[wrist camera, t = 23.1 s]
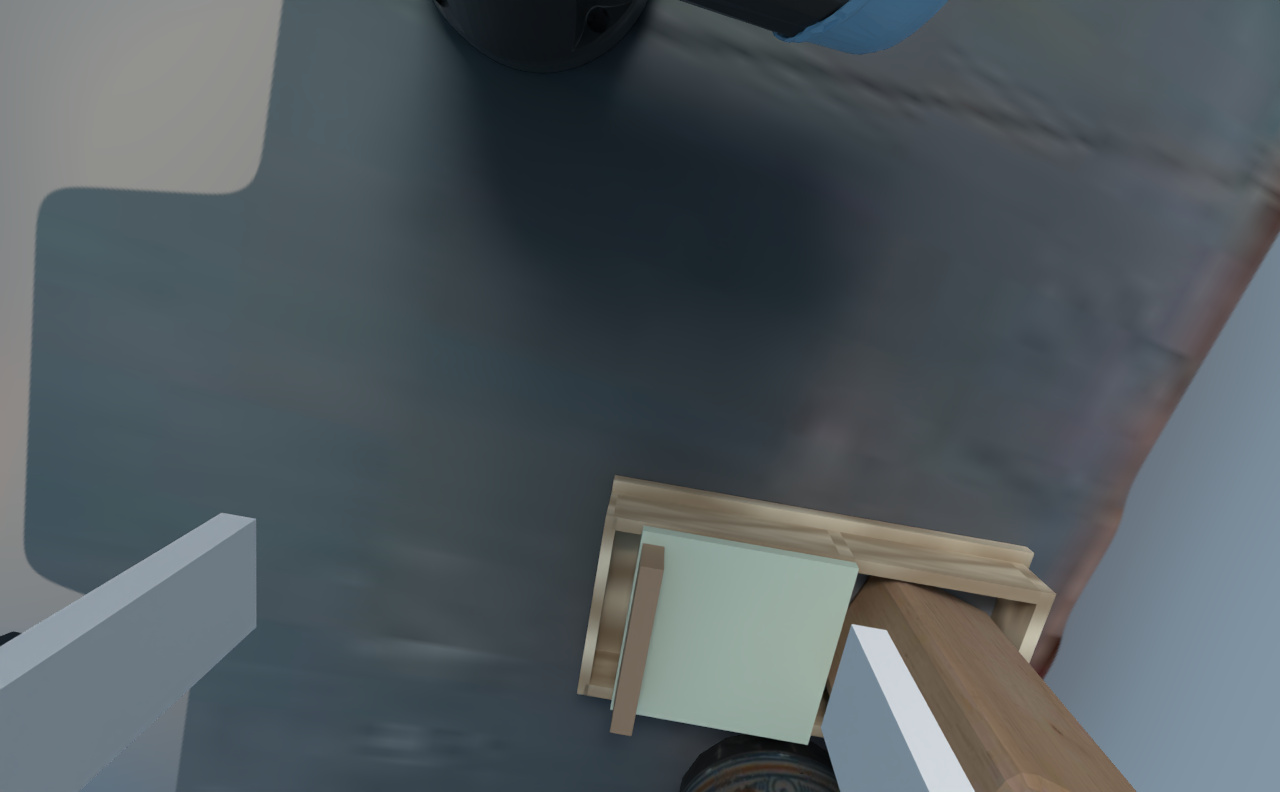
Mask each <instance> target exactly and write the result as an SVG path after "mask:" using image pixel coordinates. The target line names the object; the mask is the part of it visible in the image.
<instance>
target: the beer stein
mask: <svg viewBox="0 0 1280 792" xmlns="http://www.w3.org/2000/svg"><path fill="white" fill-rule="evenodd" d="M680 792H840V789H839V786H838V783H837V779H836V776H835V773H834V769H833V766H832V763H831V760H830V756H829V753H828V752H826V751H825V750H823V749H822V748H820V747H819V746H817V745H816V744H814V743H813V742H811V741H810V740H809V742H808V745H805V744H799V743H794V742H788V741H783V740H777V739H771V738H766V737H760V736H755V735H749V734H744V735H739V736H734V737H729V738H725V739H724V740H722V741H720V742H719V743H717V744H716V745H714V746H712V747H711V748H709V749H708V750H706V751H705V752H703V753H701V754H700V755H699V756H698V758H697V759H696V760H695V762H694V763H693V765H692V766H691V767H690V769H689V770H688V771H687V773H686V774H685V775H684V777H683V779H682V784H681V789H680Z"/></svg>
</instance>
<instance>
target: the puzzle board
mask: <svg viewBox="0 0 1280 792" xmlns="http://www.w3.org/2000/svg"><path fill="white" fill-rule="evenodd" d="M643 525H645V526H650V527H656V528H662V529H667V530H673V531H679V532H684V533H690V534H696V535H702V536H707V537H713V538H719V539H724V540H730V541H736V542H741V543H747V544H753V545H759V546H764V547H770V548H776V549H781V550H787V551H793V552H798V553H804V554H810V555H816V556H821V557H827V558H833V559H838V560H844V561H850V562H855V563H856V564H857V566H858V568H859V571H858V574H857V578H856V581H855V585H854V588H853V591H852V595H851V598H850V602H849V604H850V603H851V602H852V600H853V599H854V597H855V596H856V595H857V593H858V592H859V590H860V589H861V588H862V586H863V585H864V583H865V582H866V581H867V579H868V578H869V576H870V575H873V576H878V577H884V578H890V579H896V580H901V581H907V582H913V583H918V584H924V585H930V586H935V587H937V588H939V589H941V590H943V591H945V592H947V593H949V594H951V595H953V596H955V597H957V598H959V599H961V600H963V601H964V602H966V603H968V604H970V605H972V606H974V607H976V608H978V609H980V610H982V611H984V612H986V613H987V614H988V615H989V617H990V618H991V619H992V620H993V621H994V623H995V624H996V625H997V626H998V627H999V629H1000V630H1001V631H1002V632H1003V633H1004V635H1005V636H1006V637H1007V638H1008V639H1009V640H1010V642H1011V643H1012V644H1013V645H1014V646H1015V648H1016V649H1017V650H1018V651H1019V652H1020V654H1021V655H1022V656H1023V657H1024V658H1025V660H1026V661H1027V662H1028V663H1029V662H1030V660H1031V657H1032V655H1033V652H1034V649H1035V647H1036V644H1037V642H1038V639H1039V637H1040V634H1041V632H1042V629H1043V627H1044V624H1045V621H1046V619H1047V616H1048V614H1049V611H1050V609H1051V606H1052V604H1053V601H1054V598H1055V596H1056V594H1055V593H1054V592H1053V591H1052V590H1051V589H1050V588H1049V587H1048V586H1047V585H1046V584H1044V583H1043V582H1042V581H1041V580H1040V579H1039V578H1038V577H1037V576H1036V575H1035V574H1034V573H1033V572H1031V571H1030V570H1029V566H1030V564H1031V561H1032V558H1033V556H1034V553H1033V552H1032V551H1031V550H1030V549H1029V548H1027V547H1025V546H1019V545H1013V544H1008V543H1002V542H996V541H990V540H985V539H979V538H973V537H968V536H962V535H956V534H950V533H945V532H939V531H933V530H927V529H922V528H916V527H910V526H905V525H899V524H893V523H887V522H882V521H876V520H870V519H864V518H859V517H853V516H847V515H842V514H836V513H830V512H824V511H819V510H813V509H807V508H801V507H796V506H790V505H784V504H779V503H773V502H767V501H761V500H756V499H750V498H744V497H738V496H733V495H727V494H721V493H716V492H710V491H704V490H698V489H693V488H687V487H681V486H676V485H670V484H664V483H658V482H653V481H647V480H641V479H635V478H630V477H624V476H618V475H615V477H614V482H613V488H612V493H611V497H610V502H609V506H608V510H607V514H606V519H605V525H604V531H603V537H602V544H601V550H600V556H599V562H598V568H597V574H596V580H595V586H594V592H593V598H592V605H591V611H590V617H589V623H588V629H587V635H586V641H585V647H584V653H583V660H582V666H581V672H580V678H579V684H578V690H577V694H582V695H588V696H593V697H599V698H604V699H610V700H612V695H613V690H614V684H615V679H616V673H617V668H618V662H619V657H620V651H621V646H622V640H623V635H624V629H625V624H626V618H627V613H628V607H629V602H630V596H631V591H632V585H633V580H634V574H635V569H636V564H637V558H638V553H639V547H640V542H641V536H642V531H643ZM848 606H849V605H848ZM829 698H830V696H829V693H828V690H827V687H826V684H825V688H824V691H823V694H822V698H821V701H820V705H819V708H818V712H817V715H816V718H815V722H814V725H813V729H812V732H811V736H817V737H823V738H824V736H823V733H822V730H821V725H822V722H823V719H824V715H825V712H826V708H827V705H828V702H829Z"/></svg>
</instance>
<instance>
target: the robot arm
mask: <svg viewBox="0 0 1280 792" xmlns="http://www.w3.org/2000/svg"><path fill="white" fill-rule="evenodd" d="M647 1H648V0H433V2H434V3H435V5H436V6H437V8H438V9H439V11H440V12H441V14H442V15H443V16H444V17H445V19H446V20H447V21H448V22H449V23H450V24H451V25H452V26H453V27H454V29H455V30H456V31H457V32H459V33H460V34H461V35H462V36H463V37H464V38H465V39H466V40H467V41H468V42H469V43H470V44H471V45H472V46H474V47H475V48H476V49H477V50H479V51H480V52H481V53H483V54H484V55H486V56H488V57H489V58H491V59H493V60H495V61H497V62H499V63H501V64H503V65H506V66H508V67H511V68H515V69H518V70H523V71H528V72H538V73H549V72H559V71H565V70H569V69H573V68H576V67H579V66H581V65H584V64H586V63H588V62H590V61H593V60H594V59H596V58H598V57H599V56H601V55H603V54H604V53H605V52H607V51H608V50H610V49H611V48H612V47H613V46H614V45H616V44H617V43H618V42H619V41H620V40H621V39H622V38H623V37H624V36H625V34H626V33H627V32H628V31H629V30H630V28H631V27H632V26H633V25H634V23H635V22H636V20H637V19H638V17H639V16H640V14H641V12H642V10H643V9H644V7H645V5H646V3H647ZM680 1H683V2H686V3H689V4H692V5H695V6H698V7H701V8H704V9H707V10H710V11H713V12H716V13H719V14H722V15H725V16H728V17H731V18H734V19H737V20H740V21H743V22H746V23H749V24H752V25H755V26H758V27H761V28H764V29H767V30H771V31H772V32H773V34H774V36H775V37H777V38H778V39H780V40H782V41H784V42H788V43H790V42H796V43H801V42H805V41H806V42H809V43H813V44H817V45H820V46H824V47H828V48H831V49H835V50H839V51H842V52H846V53H850V54H859V55H860V54H866V53H872V52H877V51H879V50H885V49H888V48H890V47H892V46H894V45H896V44H898V43H899V42H901V41H903V40H904V39H906V38H907V37H909V36H910V35H912V34H913V33H914V32H915V31H917V30H918V29H919V28H920V27H922V26H923V25H924V24H925V23H926V22H927V21H928V20H929V19H931V18H932V17H933V16H934V15H935V14H936V13H937V12H938V11H939V10H940V9H941V8H942V7H943V6H944V5H945V4H946V3H947V1H948V0H680ZM255 628H256V519H253V518H248V517H242V516H236V515H231V514H225V513H221V514H219V515H217V516H216V517H214V518H212V519H211V520H209V521H207V522H206V523H204V524H202V525H201V526H199V527H197V528H196V529H194V530H192V531H191V532H189V533H187V534H186V535H184V536H182V537H181V538H179V539H178V540H176V541H174V542H173V543H171V544H169V545H168V546H166V547H164V548H163V549H161V550H159V551H158V552H156V553H154V554H153V555H151V556H149V557H148V558H146V559H144V560H143V561H141V562H139V563H138V564H136V565H134V566H133V567H131V568H129V569H128V570H126V571H124V572H123V573H121V574H119V575H118V576H116V577H115V578H113V579H111V580H110V581H108V582H106V583H105V584H103V585H101V586H100V587H98V588H96V589H95V590H93V591H91V592H90V593H88V594H86V595H85V596H83V597H81V598H80V599H78V600H77V601H75V602H73V603H72V604H70V605H68V606H67V607H65V608H63V609H62V610H60V611H58V612H57V613H55V614H53V615H52V616H50V617H48V618H47V619H45V620H43V621H42V622H40V623H38V624H37V625H35V626H33V627H32V628H30V629H28V630H27V631H25V632H23V633H18V632H10V633H8V634H5V635H3V636H0V792H79V791H80V790H81V789H82V788H83V787H84V786H85V785H86V784H87V783H88V782H89V781H91V780H92V779H93V778H94V777H95V776H96V775H97V774H98V773H99V772H100V771H101V770H102V769H103V768H105V767H106V766H107V765H108V764H109V763H110V762H111V761H112V760H113V759H114V758H115V757H116V756H118V755H119V754H120V753H121V752H122V751H123V750H124V749H125V748H126V747H127V746H128V745H129V744H131V743H132V742H133V741H134V740H135V739H136V738H137V737H138V736H139V735H140V734H141V733H142V732H143V731H144V730H145V729H147V728H148V727H149V726H150V725H151V724H152V723H153V722H154V721H155V720H156V719H157V718H159V717H160V716H161V715H162V714H163V713H164V712H165V711H166V710H167V709H168V708H169V707H170V706H172V705H173V703H175V702H176V701H177V700H178V699H179V698H180V697H181V696H182V695H183V694H184V693H186V692H187V691H188V690H189V689H190V688H191V687H192V686H193V685H194V684H195V683H196V682H197V681H198V680H200V679H201V678H202V677H203V676H204V675H205V674H206V673H207V672H208V671H209V670H210V669H211V668H213V667H214V666H215V665H216V664H217V663H218V662H219V661H220V660H221V659H222V658H223V657H224V656H225V655H227V654H228V653H229V652H230V651H231V650H232V649H233V648H234V647H235V646H236V645H237V644H238V643H239V642H241V641H242V640H243V639H244V638H245V637H246V636H247V635H248V634H249V633H250V632H251V631H252V630H254V629H255ZM821 730H822V733H823V736H824V740H825V743H826V746H827V750H828V753H829V756H830V760H831V763H832V766H833V769H834V773H835V776H836V779H837V783H838V786H839V789H840V792H975V791H974V789H973V787H972V785H971V784H970V782H969V780H968V778H967V776H966V774H965V773H964V771H963V769H962V767H961V765H960V763H959V762H958V760H957V758H956V756H955V754H954V752H953V751H952V749H951V747H950V745H949V743H948V742H947V740H946V738H945V736H944V734H943V732H942V731H941V729H940V727H939V725H938V723H937V721H936V720H935V718H934V716H933V714H932V712H931V710H930V709H929V707H928V705H927V703H926V701H925V699H924V698H923V696H922V694H921V692H920V690H919V689H918V687H917V685H916V683H915V681H914V679H913V678H912V676H911V674H910V672H909V670H908V668H907V667H906V665H905V663H904V661H903V659H902V657H901V656H900V654H899V652H898V650H897V648H896V646H895V645H894V643H893V641H892V639H891V637H890V636H889V634H888V632H887V630H883V629H877V628H871V627H866V626H860V625H854V624H851V627H850V631H849V634H848V637H847V641H846V644H845V648H844V651H843V654H842V658H841V661H840V664H839V668H838V671H837V675H836V678H835V681H834V685H833V688H832V692H831V695H830V698H829V702H828V705H827V708H826V712H825V715H824V719H823V722H822V725H821Z"/></svg>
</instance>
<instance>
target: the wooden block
mask: <svg viewBox="0 0 1280 792" xmlns="http://www.w3.org/2000/svg"><path fill="white" fill-rule="evenodd" d="M851 624H854V625H860V626H866V627H871V628H877V629H883V630H887V632H888V634H889V636H890V637H891V639H892V641H893V643H894V645H895V646H896V648H897V650H898V652H899V654H900V656H901V657H902V659H903V661H904V663H905V665H906V667H907V668H908V670H909V672H910V674H911V676H912V678H913V679H914V681H915V683H916V685H917V687H918V689H919V690H920V692H921V694H922V696H923V698H924V699H925V701H926V703H927V705H928V707H929V709H930V710H931V712H932V714H933V716H934V718H935V720H936V721H937V723H938V725H939V727H940V729H941V731H942V732H943V734H944V736H945V738H946V740H947V742H948V743H949V745H950V747H951V749H952V751H953V752H954V754H955V756H956V758H957V760H958V762H959V763H960V765H961V767H962V769H963V771H964V773H965V774H966V776H967V778H968V780H969V782H970V784H971V785H972V787H973V789H974V791H975V792H1136V790H1135V789H1134V788H1133V787H1132V786H1131V784H1130V783H1129V782H1128V781H1127V780H1126V779H1125V777H1124V776H1123V775H1122V774H1121V773H1120V771H1119V770H1118V769H1117V768H1116V767H1115V765H1114V764H1113V763H1112V762H1111V761H1110V760H1109V758H1108V757H1107V756H1106V755H1105V754H1104V752H1103V751H1102V750H1101V749H1100V748H1099V746H1098V745H1097V744H1096V743H1095V742H1094V740H1093V739H1092V738H1091V737H1090V736H1089V735H1088V733H1087V732H1086V731H1085V730H1084V729H1083V727H1082V726H1081V725H1080V724H1079V723H1078V721H1077V720H1076V719H1075V718H1074V717H1073V716H1072V714H1071V713H1070V712H1069V711H1068V709H1066V707H1065V706H1064V705H1063V704H1062V702H1061V701H1060V700H1059V699H1058V698H1057V696H1056V695H1055V694H1054V693H1053V692H1052V691H1051V689H1050V688H1049V687H1048V686H1047V685H1046V683H1045V682H1044V681H1043V680H1042V679H1041V677H1040V676H1039V675H1038V674H1037V673H1036V671H1035V670H1034V669H1033V668H1032V667H1031V665H1030V664H1029V663H1028V662H1027V661H1026V660H1025V658H1024V657H1023V656H1022V655H1021V654H1020V652H1019V651H1018V650H1017V649H1016V648H1015V646H1014V645H1013V644H1012V643H1011V642H1010V640H1009V639H1008V638H1007V637H1006V636H1005V635H1004V633H1003V632H1002V631H1001V630H1000V629H999V627H998V626H997V625H996V624H995V623H994V621H993V620H992V619H991V618H990V617H989V615H988V614H987V613H986V612H984V611H982V610H980V609H978V608H976V607H974V606H972V605H970V604H968V603H966V602H964V601H963V600H961V599H959V598H957V597H955V596H953V595H951V594H949V593H947V592H945V591H943V590H941V589H939V588H937V587H935V586H930V585H924V584H918V583H913V582H907V581H901V580H896V579H890V578H884V577H878V576H873V575H870V576H869V578H868V579H867V581H866V582H865V583H864V585H863V586H862V588H861V589H860V590H859V592H858V593H857V595H856V596H855V597H854V599H853V600H852V602H851V603H850V604H849V606H848V609H847V612H846V615H845V619H844V622H843V626H842V629H841V633H840V636H839V640H838V643H837V646H836V650H835V653H834V657H833V660H832V664H831V667H830V670H829V674H828V677H827V681H826V687H827V690H828V693H829V696H830V695H831V692H832V688H833V685H834V681H835V678H836V675H837V671H838V668H839V664H840V661H841V658H842V654H843V651H844V648H845V644H846V641H847V637H848V634H849V631H850V627H851Z"/></svg>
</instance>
